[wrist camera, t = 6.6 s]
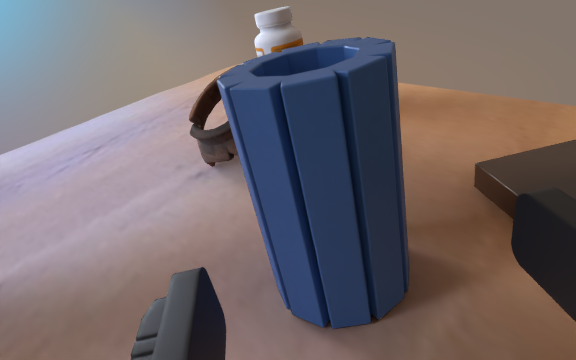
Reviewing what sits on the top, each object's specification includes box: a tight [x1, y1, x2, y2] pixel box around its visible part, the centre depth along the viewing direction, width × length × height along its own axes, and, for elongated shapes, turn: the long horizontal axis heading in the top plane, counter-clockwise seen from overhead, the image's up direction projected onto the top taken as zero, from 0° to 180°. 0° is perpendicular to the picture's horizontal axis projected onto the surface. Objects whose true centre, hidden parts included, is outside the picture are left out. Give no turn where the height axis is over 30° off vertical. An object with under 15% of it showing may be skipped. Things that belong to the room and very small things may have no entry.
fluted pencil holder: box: [217, 37, 409, 329], centre depth 15 cm, size 6×6×10 cm
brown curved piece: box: [189, 67, 238, 167], centre depth 32 cm, size 12×10×8 cm
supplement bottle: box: [255, 6, 303, 57], centre depth 43 cm, size 5×5×10 cm
